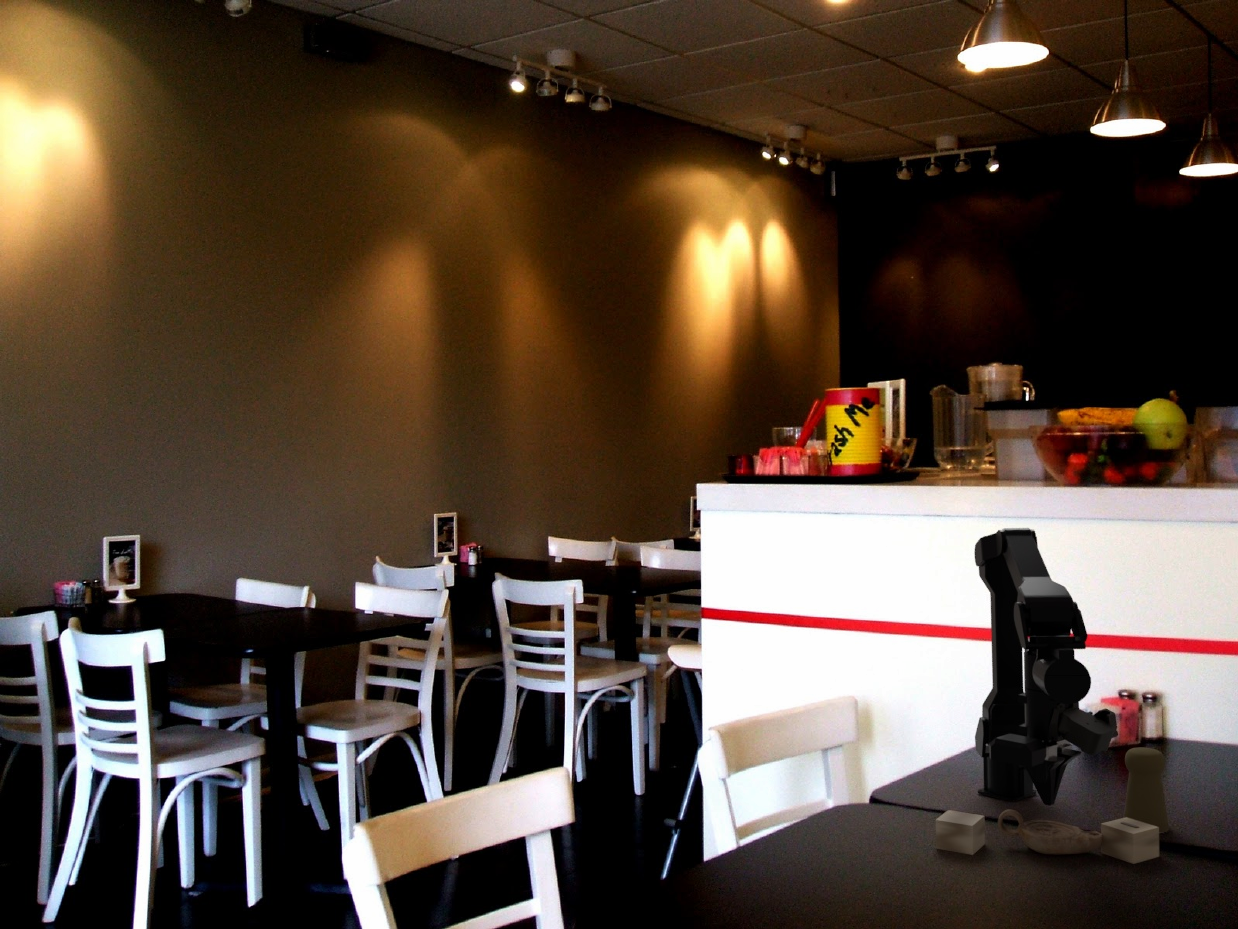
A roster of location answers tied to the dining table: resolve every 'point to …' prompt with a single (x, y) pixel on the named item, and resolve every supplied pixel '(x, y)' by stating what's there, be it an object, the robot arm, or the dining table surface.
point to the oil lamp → (1051, 835)
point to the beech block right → (1130, 840)
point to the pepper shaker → (1146, 787)
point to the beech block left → (960, 832)
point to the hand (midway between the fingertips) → (1048, 804)
